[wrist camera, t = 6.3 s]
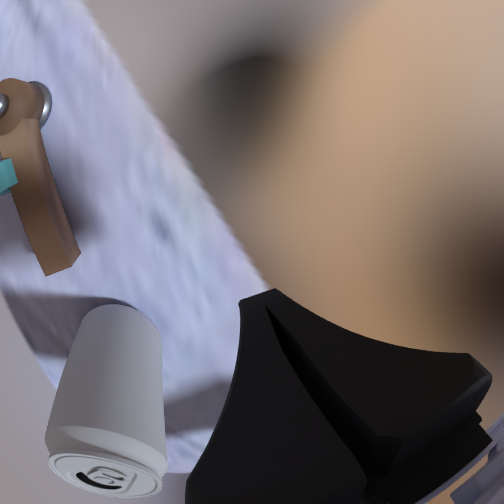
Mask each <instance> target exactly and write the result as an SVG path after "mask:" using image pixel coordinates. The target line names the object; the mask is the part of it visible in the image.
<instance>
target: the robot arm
mask: <svg viewBox="0 0 504 504" xmlns="http://www.w3.org/2000/svg"><path fill="white" fill-rule="evenodd" d="M238 305H239V309H240V338H239V347H238V354H237V360H236V366H235V370H234V375H233V379H232V382H231V386H230V390H229V393H228V396H227V399H226V402H225V405H224V408H223V410H222V413H221V416H220V418H219V420H218V423H217V425H216V427H215V429H214V431H213V434H212V436H211V438H210V440H209V442H208V444H207V446H206V448H205V450H204V452H203V454H202V455H201V457H200V459H199V460H198V462H197V464H196V466H195V467H194V469H193V471H192V472H191V474H190V476H189V477H188V479H187V481H186V492H185V504H427V502H428V501H430V500H431V499H432V498H434V497H435V496H437V495H438V494H439V493H441V492H442V491H444V490H445V489H446V488H448V487H449V486H450V485H451V484H453V483H454V482H455V481H456V480H458V479H459V478H460V477H462V476H463V475H464V474H465V473H466V472H467V471H469V470H470V469H471V468H472V467H473V466H474V465H475V464H477V463H478V462H479V461H480V460H481V459H482V458H483V457H484V456H485V455H486V454H487V453H488V452H489V451H490V452H489V454H488V461H487V463H486V464H485V465H484V466H483V467H482V468H481V469H479V470H478V471H477V472H476V473H475V474H473V475H472V476H471V477H470V478H469V479H468V480H466V481H465V482H464V483H463V484H462V485H461V486H459V487H458V488H457V489H456V490H455V491H453V492H452V493H451V495H450V497H451V498H452V500H453V501H454V504H504V413H503V414H502V415H501V416H500V417H499V418H498V419H497V420H496V421H495V422H494V423H493V425H491V426H490V427H489V428H488V429H487V430H486V431H484V429H483V428H482V427H481V426H480V425H479V423H480V422H481V421H482V418H481V417H480V415H478V413H477V412H476V410H477V408H478V406H479V405H480V403H481V402H482V400H483V399H484V397H485V395H486V393H487V392H488V390H489V388H490V386H491V383H492V375H491V373H490V372H489V371H488V370H486V368H484V367H483V366H482V365H481V364H480V363H479V362H478V361H477V360H476V359H475V358H474V357H472V356H471V355H470V354H469V353H448V352H432V351H426V350H419V349H412V348H407V347H402V346H397V345H393V344H388V343H385V342H381V341H378V340H374V339H371V338H368V337H365V336H362V335H359V334H357V333H354V332H351V331H349V330H347V329H344V328H342V327H340V326H338V325H336V324H333V323H332V322H329V321H327V320H325V319H324V318H322V317H320V316H318V315H316V314H315V313H313V312H311V311H309V310H308V309H306V308H304V307H302V306H301V305H299V304H298V303H296V302H295V301H293V300H292V299H290V298H289V297H287V296H286V295H285V294H283V293H282V292H280V291H279V290H277V289H275V288H274V289H271V290H268V291H266V292H263V293H260V294H257V295H254V296H251V297H248V298H245V299H242V300H240V302H239V303H238Z"/></svg>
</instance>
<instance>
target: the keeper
mask: <svg viewBox="0 0 504 504" xmlns="http://www.w3.org/2000/svg"><path fill="white" fill-rule="evenodd" d="M17 183H18V181H17V177H16V174H15V171H14V167H13V164H12V160H11V158H10V159H6V160H3V161H1V162H0V196H2V195H5V194H7V193H9V192H11V189H10V187H12V186H14V185H15V184H17Z"/></svg>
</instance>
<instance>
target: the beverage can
mask: <svg viewBox="0 0 504 504" xmlns="http://www.w3.org/2000/svg"><path fill="white" fill-rule="evenodd" d="M45 442H46V445H47V448H48V450H49V452H50V455H49V461H48V463H49V466H50V468H51V469H52V470H53V471H54V472H55V473H56V474H57V475H58V476H59V477H61V478H62V479H64V480H66V481H67V482H68V483H70V484H72V485H74V486H76V487H79V488H81V489H84V490H86V491H90V492H93V493H97V494H100V495H104V496H110V497H117V498H143V497H148V496H152V495H155V494H157V493H158V492H160V491H161V489H162V480H161V478H162V477H163V475H164V474H165V472H166V471H167V468H168V460H167V449H166V437H165V422H164V403H163V367H162V338H161V335H160V332H159V330H158V328H157V327H156V325H155V324H154V323H153V322H152V320H151V319H150V318H148V317H147V316H146V315H145V314H143V313H142V312H140V311H138V310H136V309H134V308H131V307H128V306H124V305H119V304H107V305H102V306H98V307H96V308H94V309H92V310H91V311H89V312H88V313H87V314H86V315H85V316H84V318H83V319H82V321H81V323H80V326H79V328H78V331H77V334H76V336H75V339H74V342H73V344H72V347H71V350H70V353H69V355H68V358H67V361H66V364H65V367H64V370H63V373H62V376H61V379H60V383H59V386H58V389H57V393H56V396H55V400H54V403H53V407H52V411H51V415H50V419H49V423H48V426H47V431H46V435H45Z"/></svg>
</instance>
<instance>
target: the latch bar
mask: <svg viewBox="0 0 504 504" xmlns="http://www.w3.org/2000/svg"><path fill="white" fill-rule="evenodd" d="M0 93H3V94H6V95H7V96H8V97H9V108H8V111H7V113H6V114H5V115H4V116H3V117H2V118H1V119H0V153H1V157H2V161H3V160H6V159H10V158H11V160H12V164H13V167H14V171H15V174H16V177H17V181H18V183H17V184H15V185H14V186H12V187H10V189H11V193H12V196H13V199H14V202H15V205H16V208H17V210H18V213H19V216H20V219H21V221H22V224H23V227H24V229H25V232H26V234H27V237H28V239H29V241H30V244H31V246H32V248H33V251H34V253H35V255H36V257H37V260H38V262H39V264H40V266H41V268H42V270H43V272H44V274H45V276H48V275H51V274H54V273H56V272H59V271H62V270H64V269H67V268H69V267H72V265H73V264H74V262H75V261H76V259H77V258H78V257H79V255H80V254H81V251H80V249H79V247H78V244H77V242H76V240H75V237H74V235H73V232H72V230H71V227H70V225H69V222H68V220H67V217H66V214H65V212H64V209H63V206H62V203H61V200H60V198H59V195H58V192H57V189H56V186H55V182H54V179H53V176H52V173H51V169H50V166H49V162H48V159H47V155H46V152H45V148H44V144H43V140H42V136H41V131H40V127H39V120H40V118H41V116H42V114H43V110H44V105H45V99H44V94H43V91H42V90H41V88H40V87H39V86H37V85H35V84H32V83H28V82H25V81H21V80H18V79H14V78H7V79H4V80H2V81H1V82H0Z"/></svg>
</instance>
